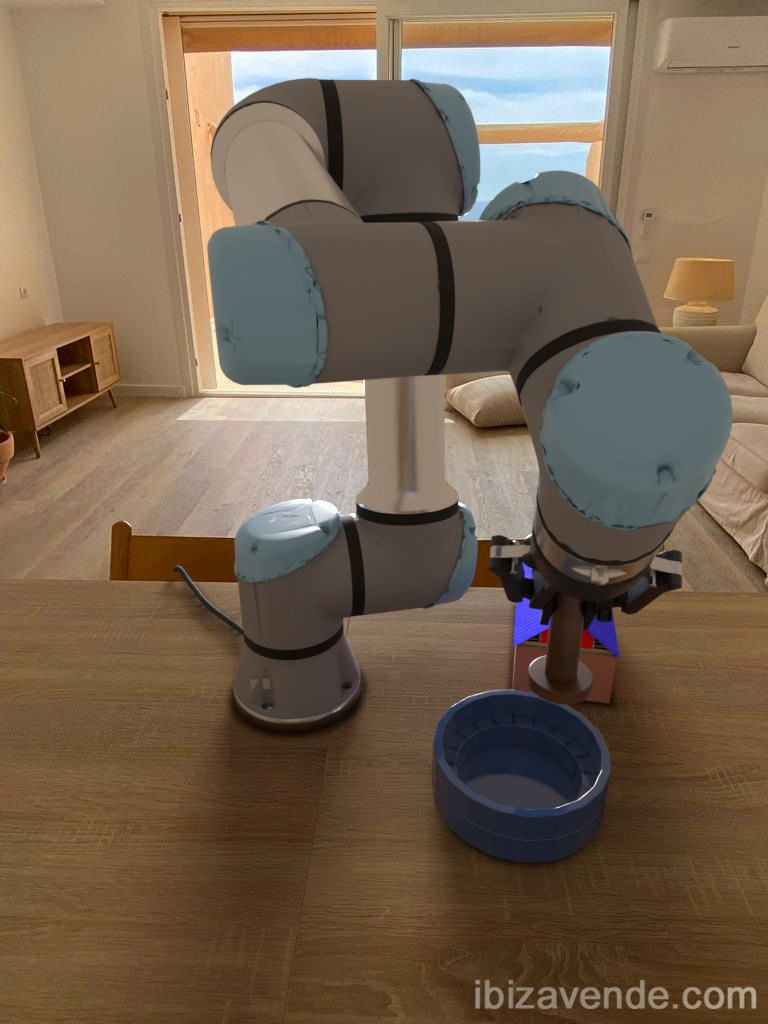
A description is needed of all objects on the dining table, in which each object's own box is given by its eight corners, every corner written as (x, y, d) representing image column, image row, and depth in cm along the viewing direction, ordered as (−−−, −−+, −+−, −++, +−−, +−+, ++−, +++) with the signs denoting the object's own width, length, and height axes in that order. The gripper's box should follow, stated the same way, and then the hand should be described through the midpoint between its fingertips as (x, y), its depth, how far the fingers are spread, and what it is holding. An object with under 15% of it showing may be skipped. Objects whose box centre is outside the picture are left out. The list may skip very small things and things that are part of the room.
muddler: (515, 673, 64) (528, 526, 58) (567, 659, 66) (584, 515, 59) (550, 711, 59) (568, 556, 53) (604, 695, 61) (628, 543, 55)
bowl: (406, 761, 74) (407, 713, 71) (540, 720, 79) (545, 674, 76) (482, 894, 60) (486, 841, 57) (638, 834, 65) (649, 783, 62)
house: (509, 692, 84) (516, 610, 79) (515, 604, 101) (521, 533, 97) (612, 705, 81) (626, 622, 77) (600, 613, 99) (611, 540, 94)
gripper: (458, 574, 42) (473, 643, 64) (738, 602, 39) (654, 664, 61) (471, 462, 45) (481, 565, 67) (735, 480, 42) (655, 582, 63)
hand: (564, 612), depth 64 cm, fingers closed on muddler, 3 cm apart
